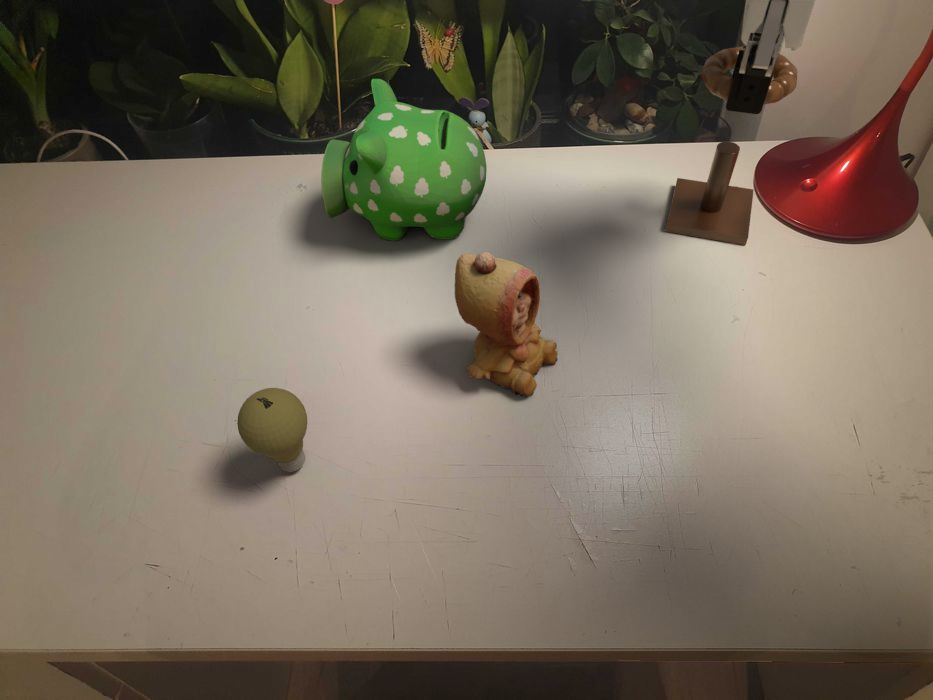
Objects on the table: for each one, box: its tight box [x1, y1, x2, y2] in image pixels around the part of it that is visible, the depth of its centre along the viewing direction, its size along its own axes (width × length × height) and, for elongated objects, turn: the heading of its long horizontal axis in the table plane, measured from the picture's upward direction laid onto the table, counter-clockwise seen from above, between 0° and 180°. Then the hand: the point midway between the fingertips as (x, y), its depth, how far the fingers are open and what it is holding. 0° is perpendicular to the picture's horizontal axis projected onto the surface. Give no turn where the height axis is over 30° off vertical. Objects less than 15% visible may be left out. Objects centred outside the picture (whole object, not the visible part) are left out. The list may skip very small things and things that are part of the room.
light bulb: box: [236, 387, 308, 473], centre depth 57 cm, size 6×6×10 cm
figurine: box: [454, 251, 558, 398], centre depth 62 cm, size 10×8×15 cm
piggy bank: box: [320, 78, 487, 242], centre depth 75 cm, size 14×18×15 cm
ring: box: [701, 46, 799, 105], centre depth 65 cm, size 9×9×2 cm
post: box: [665, 140, 754, 246], centre depth 75 cm, size 9×9×9 cm
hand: (744, 100), depth 64 cm, fingers closed on ring, 2 cm apart
